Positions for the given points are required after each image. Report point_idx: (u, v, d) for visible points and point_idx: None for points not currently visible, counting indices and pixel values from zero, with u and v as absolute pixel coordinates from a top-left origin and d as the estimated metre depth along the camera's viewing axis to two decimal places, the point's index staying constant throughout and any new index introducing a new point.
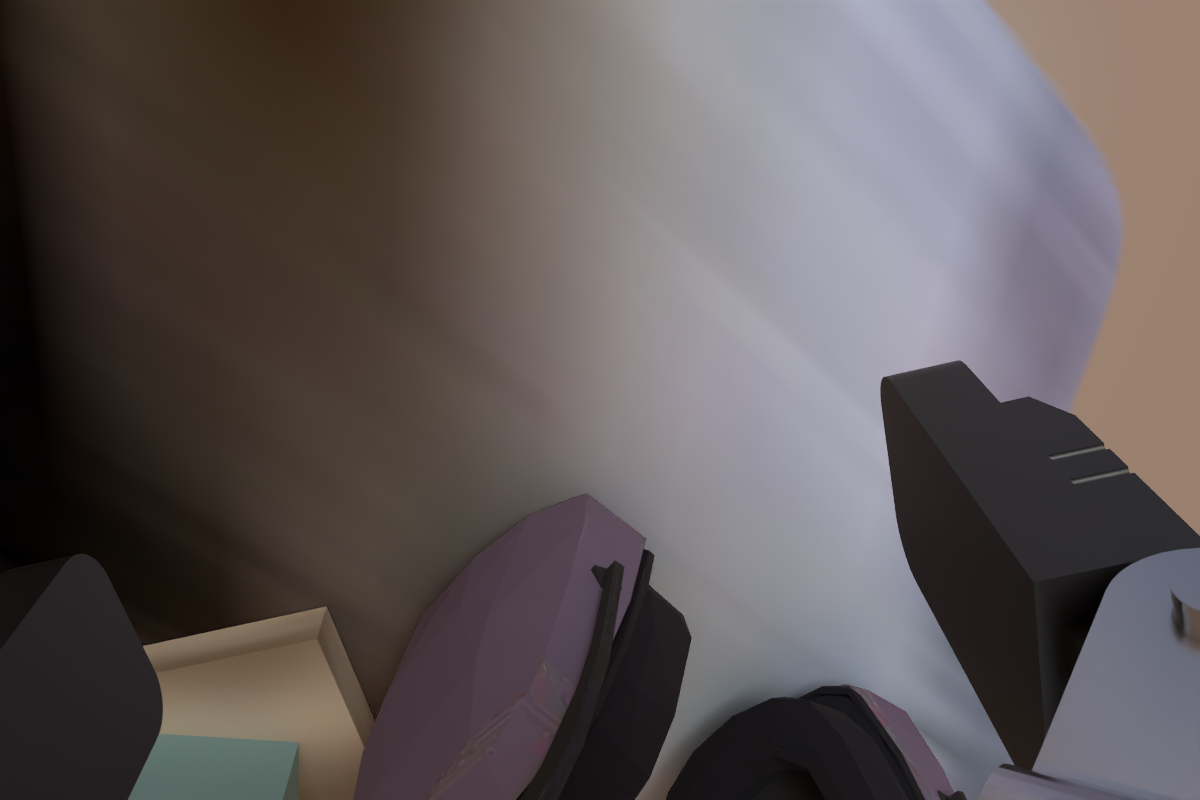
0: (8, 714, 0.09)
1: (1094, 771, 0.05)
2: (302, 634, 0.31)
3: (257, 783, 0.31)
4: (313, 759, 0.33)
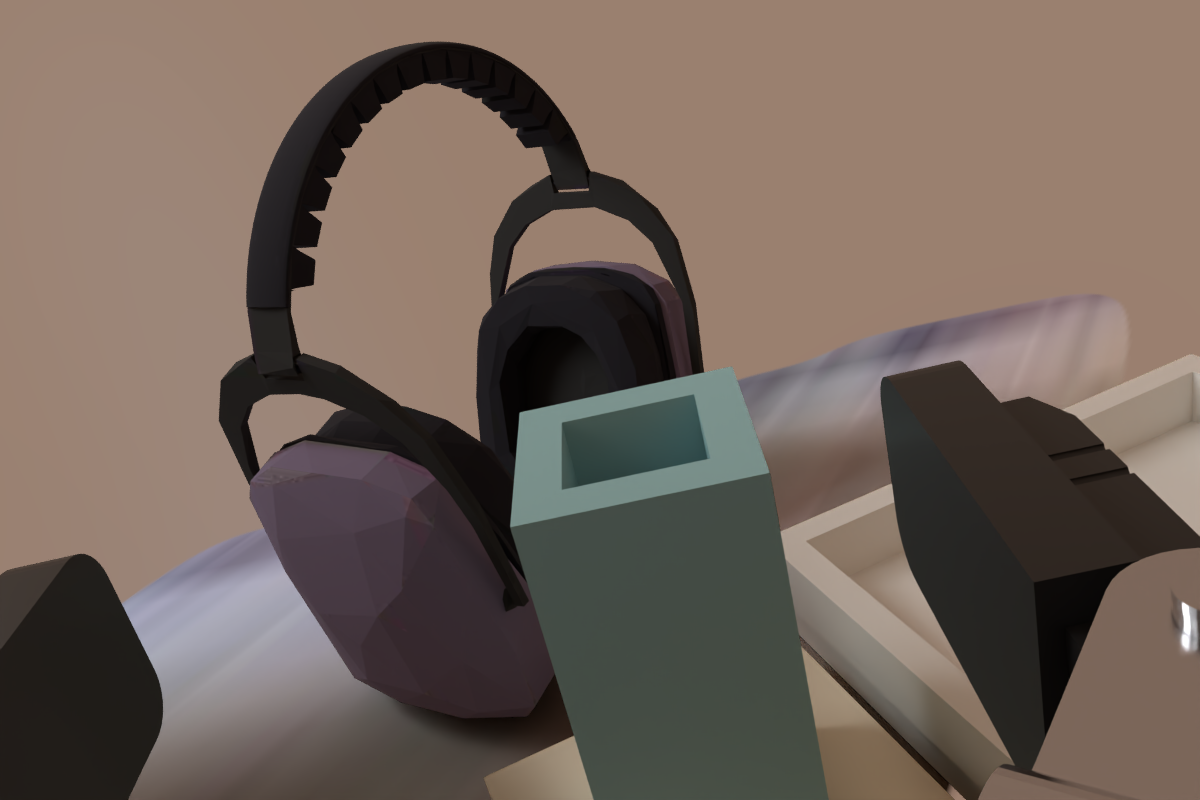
0: (8, 714, 0.09)
1: (1095, 771, 0.05)
2: (491, 798, 0.30)
3: None
4: None
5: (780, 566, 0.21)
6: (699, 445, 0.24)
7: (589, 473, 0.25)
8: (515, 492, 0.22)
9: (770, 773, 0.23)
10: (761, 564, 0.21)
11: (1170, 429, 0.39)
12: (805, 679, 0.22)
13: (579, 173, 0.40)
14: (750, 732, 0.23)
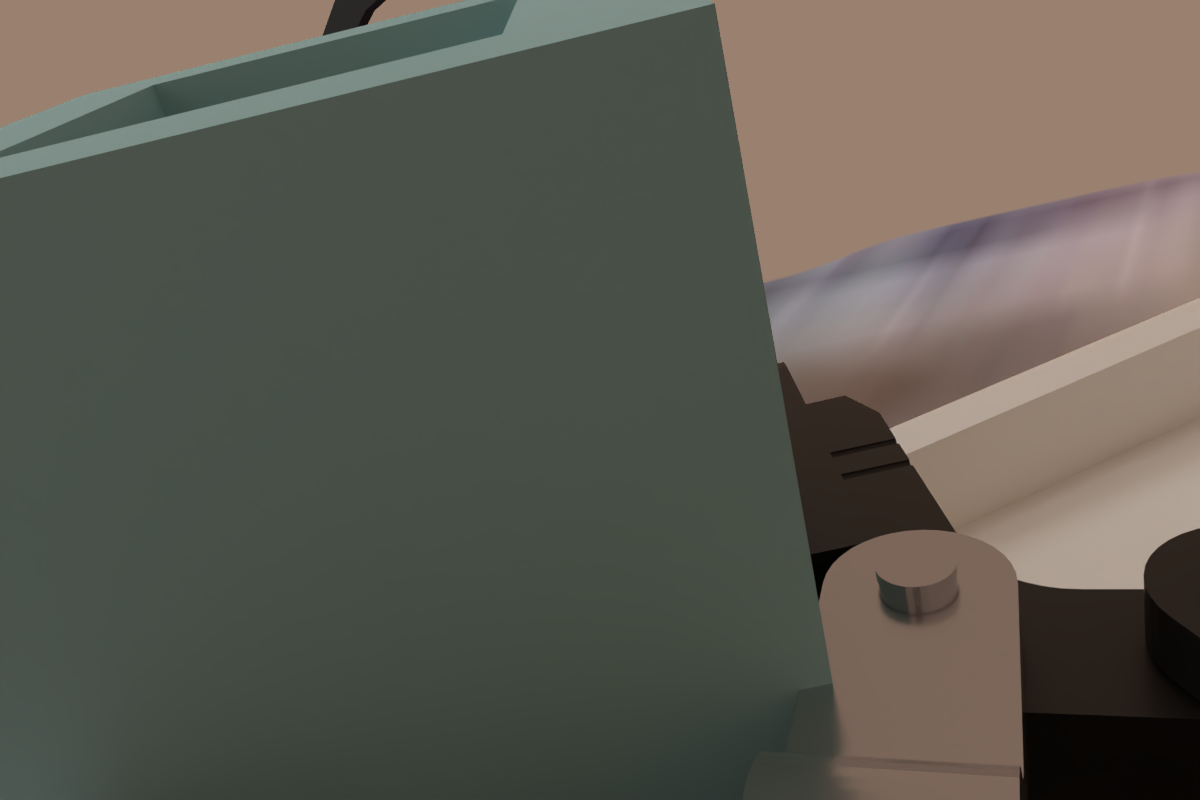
0: None
1: (837, 744, 0.06)
2: None
3: None
4: None
5: (766, 432, 0.06)
6: None
7: None
8: None
9: None
10: (691, 427, 0.06)
11: None
12: None
13: None
14: None
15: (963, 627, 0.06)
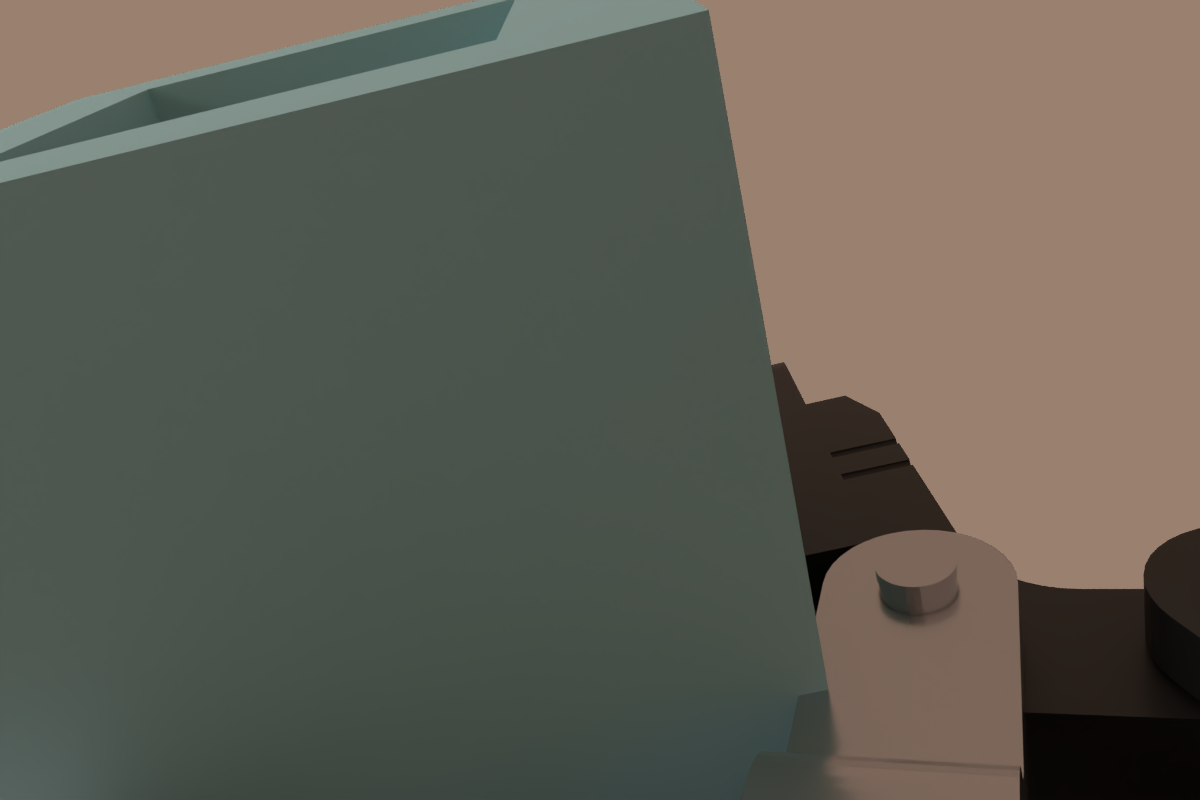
0: None
1: (837, 744, 0.06)
2: None
3: None
4: None
5: (760, 440, 0.06)
6: None
7: None
8: None
9: None
10: (686, 435, 0.06)
11: None
12: None
13: None
14: None
15: (962, 627, 0.06)
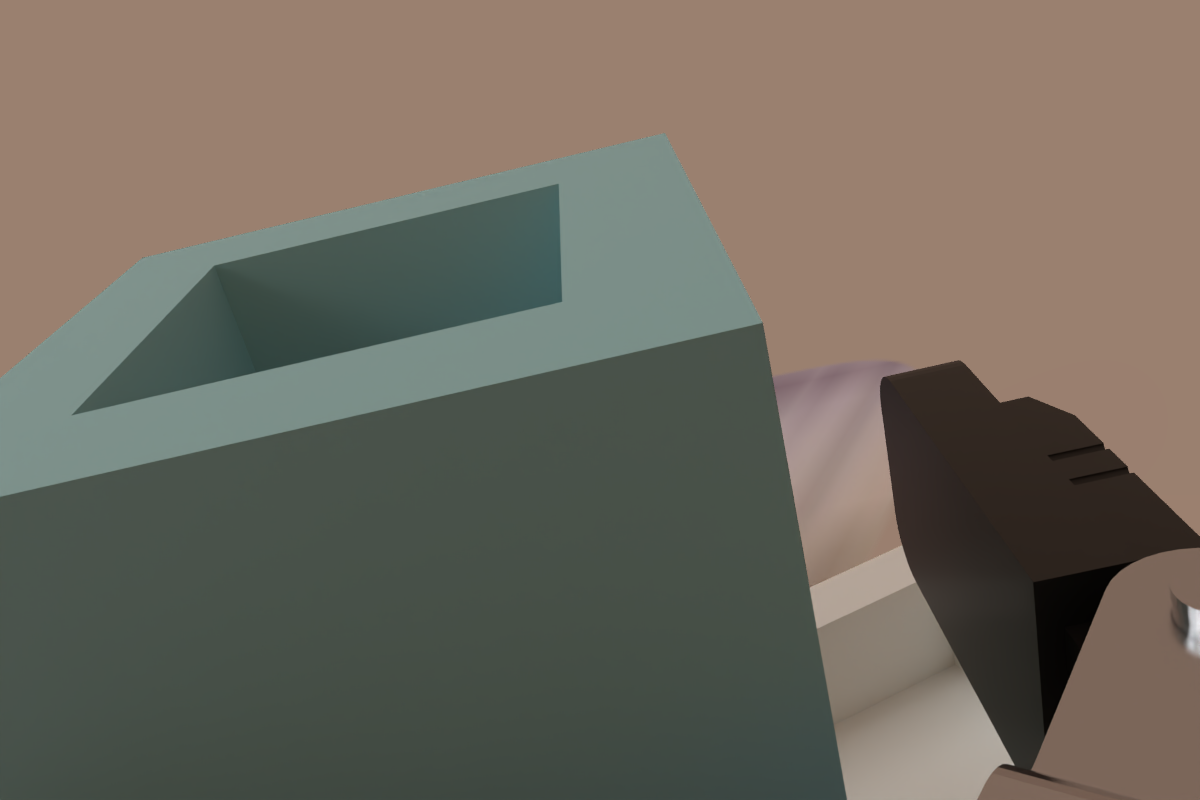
0: None
1: (1094, 770, 0.05)
2: None
3: None
4: None
5: (802, 667, 0.06)
6: None
7: None
8: None
9: None
10: (735, 663, 0.06)
11: (906, 686, 0.18)
12: None
13: None
14: None
15: None
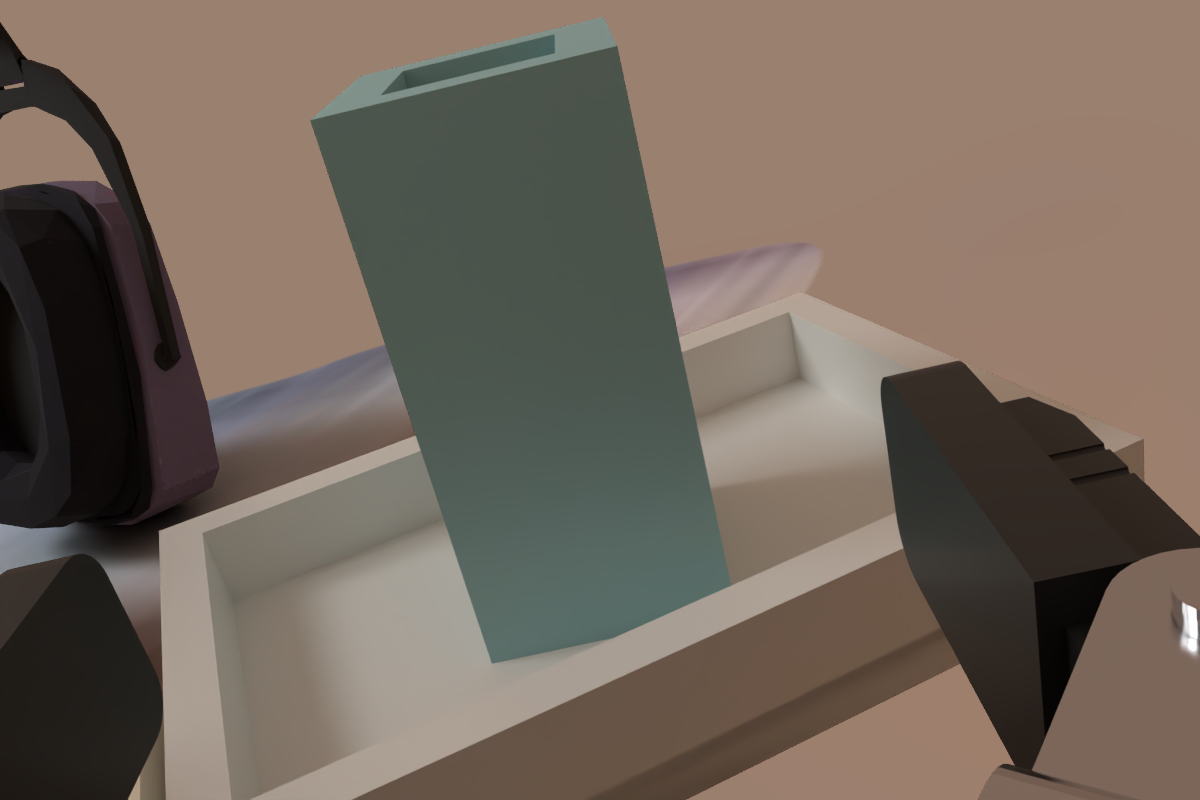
0: (9, 714, 0.09)
1: (1095, 771, 0.05)
2: None
3: None
4: None
5: (637, 177, 0.18)
6: None
7: None
8: (328, 105, 0.18)
9: (643, 466, 0.20)
10: (614, 176, 0.18)
11: (768, 389, 0.30)
12: (676, 336, 0.19)
13: (11, 62, 0.31)
14: (616, 409, 0.20)
15: None
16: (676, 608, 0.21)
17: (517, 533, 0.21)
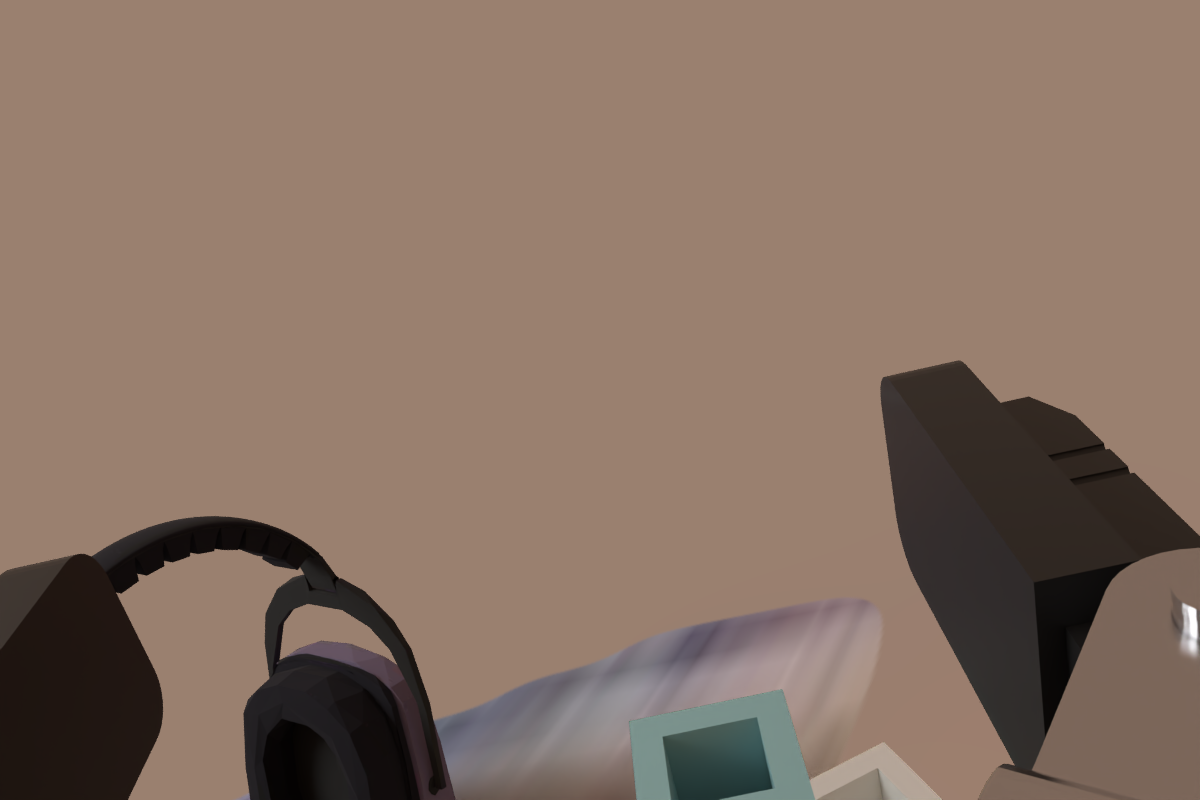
0: (7, 714, 0.09)
1: (1095, 771, 0.05)
2: None
3: None
4: None
5: None
6: (760, 748, 0.34)
7: (681, 768, 0.34)
8: None
9: None
10: None
11: None
12: None
13: (327, 580, 0.44)
14: None
15: None
16: None
17: None
